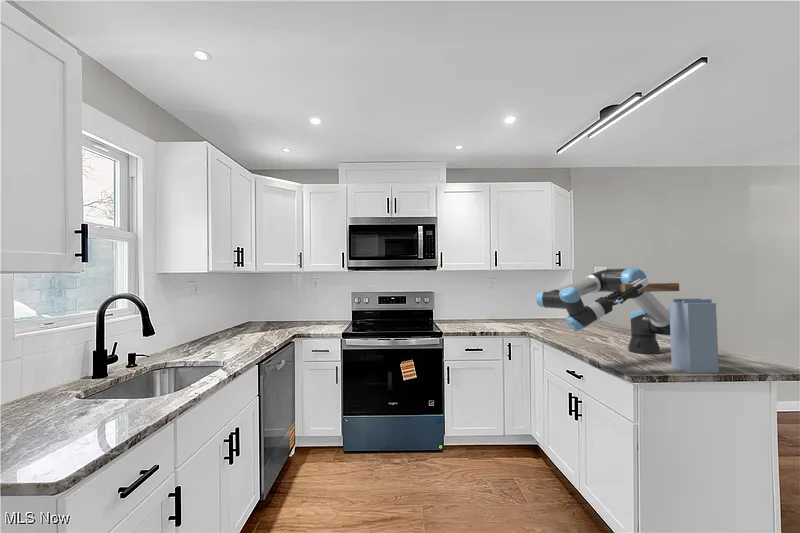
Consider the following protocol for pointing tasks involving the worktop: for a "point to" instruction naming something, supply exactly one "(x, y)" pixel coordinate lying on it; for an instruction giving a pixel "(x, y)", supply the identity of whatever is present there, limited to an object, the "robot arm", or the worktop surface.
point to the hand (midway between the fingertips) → (644, 281)
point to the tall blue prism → (694, 335)
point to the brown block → (653, 287)
